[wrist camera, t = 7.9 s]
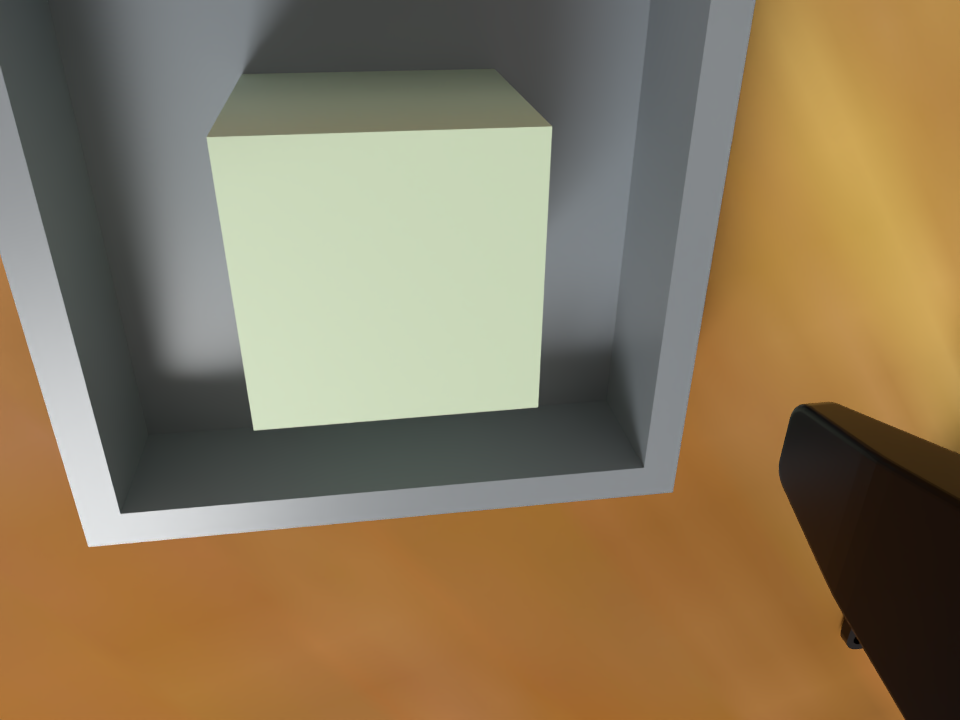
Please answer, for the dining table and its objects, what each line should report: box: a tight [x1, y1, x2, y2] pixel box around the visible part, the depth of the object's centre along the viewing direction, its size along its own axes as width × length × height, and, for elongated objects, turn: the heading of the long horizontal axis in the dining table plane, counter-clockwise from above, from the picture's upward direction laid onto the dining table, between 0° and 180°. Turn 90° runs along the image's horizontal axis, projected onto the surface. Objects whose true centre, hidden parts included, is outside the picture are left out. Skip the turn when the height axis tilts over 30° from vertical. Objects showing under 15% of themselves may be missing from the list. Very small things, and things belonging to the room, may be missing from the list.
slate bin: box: [0, 0, 755, 547], centre depth 16 cm, size 13×13×4 cm
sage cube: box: [206, 69, 552, 431], centre depth 15 cm, size 5×5×5 cm
